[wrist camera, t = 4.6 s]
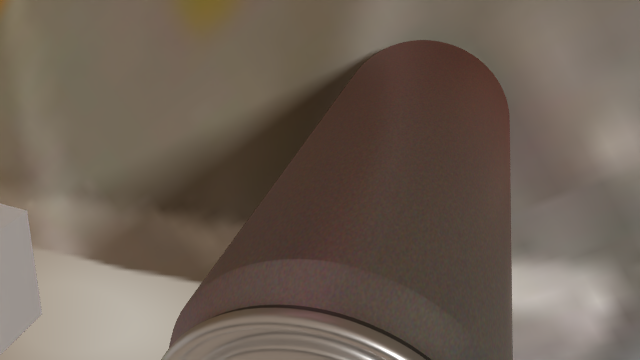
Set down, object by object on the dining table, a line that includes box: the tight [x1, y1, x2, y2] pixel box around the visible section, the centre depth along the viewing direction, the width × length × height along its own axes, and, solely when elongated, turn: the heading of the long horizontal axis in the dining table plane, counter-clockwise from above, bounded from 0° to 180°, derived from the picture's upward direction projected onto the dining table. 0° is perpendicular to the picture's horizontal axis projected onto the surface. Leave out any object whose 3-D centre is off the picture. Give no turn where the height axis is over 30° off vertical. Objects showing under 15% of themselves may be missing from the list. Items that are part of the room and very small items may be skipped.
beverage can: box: [161, 40, 513, 360], centre depth 16 cm, size 6×6×15 cm
